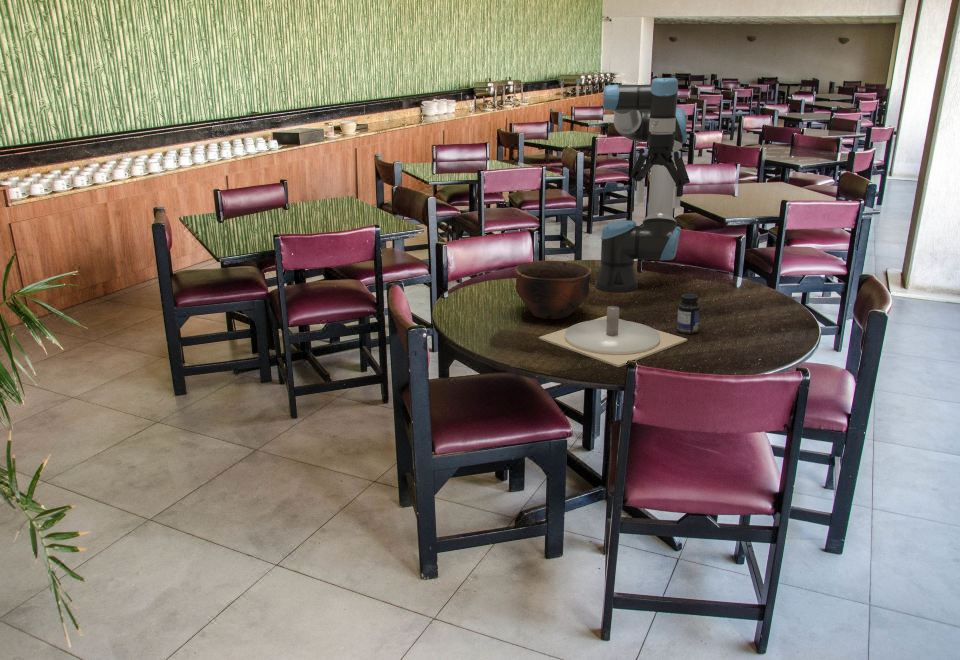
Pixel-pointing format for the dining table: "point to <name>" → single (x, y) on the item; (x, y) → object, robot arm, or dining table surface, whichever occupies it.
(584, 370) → the dining table surface
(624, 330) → the lid
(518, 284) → the bowl
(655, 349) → the mat
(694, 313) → the pill bottle
